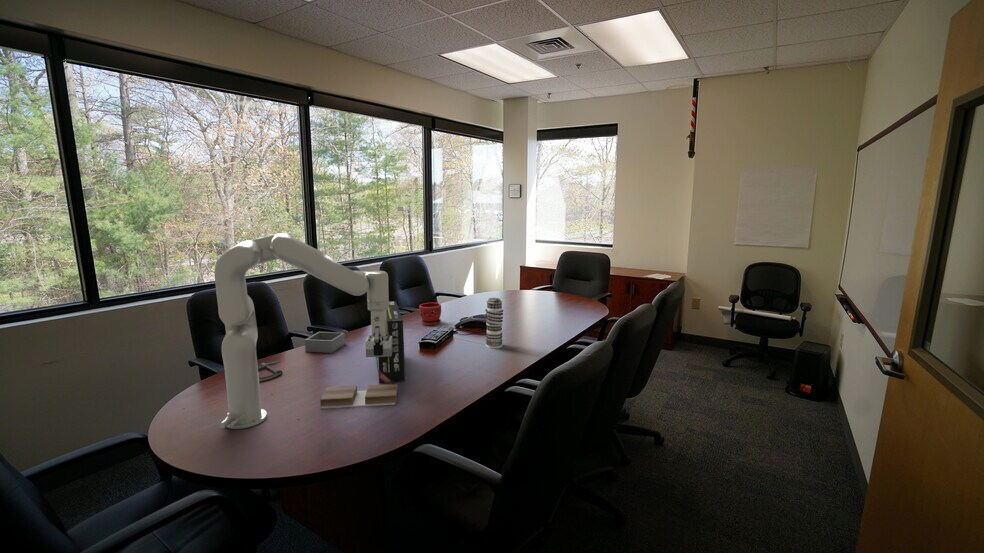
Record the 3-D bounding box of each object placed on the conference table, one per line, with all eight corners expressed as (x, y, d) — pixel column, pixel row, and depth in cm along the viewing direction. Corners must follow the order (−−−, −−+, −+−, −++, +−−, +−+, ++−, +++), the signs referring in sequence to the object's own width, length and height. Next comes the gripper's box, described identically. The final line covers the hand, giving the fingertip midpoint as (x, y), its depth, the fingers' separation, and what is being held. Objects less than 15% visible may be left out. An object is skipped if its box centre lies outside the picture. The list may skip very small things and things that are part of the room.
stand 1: (352, 404, 160) (352, 397, 160) (320, 406, 159) (320, 399, 158) (357, 391, 171) (356, 385, 171) (327, 393, 170) (327, 387, 169)
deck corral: (332, 352, 216) (331, 341, 215) (305, 351, 218) (304, 339, 217) (345, 343, 230) (344, 332, 229) (319, 342, 231) (319, 331, 230)
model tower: (497, 349, 223) (497, 301, 219) (481, 346, 227) (482, 299, 223) (506, 345, 230) (506, 298, 226) (491, 342, 235) (491, 296, 231)
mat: (397, 389, 174) (397, 388, 174) (395, 404, 162) (395, 403, 162) (328, 393, 171) (328, 392, 171) (320, 408, 158) (320, 407, 158)
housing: (391, 356, 162) (390, 339, 161) (365, 357, 161) (365, 339, 160) (392, 351, 168) (392, 334, 167) (368, 351, 167) (367, 334, 166)
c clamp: (237, 372, 192) (237, 366, 192) (279, 362, 204) (279, 357, 203) (251, 386, 178) (250, 379, 177) (295, 375, 189) (295, 369, 189)
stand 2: (396, 402, 163) (395, 395, 162) (365, 404, 161) (365, 397, 161) (398, 389, 173) (397, 383, 173) (369, 391, 172) (368, 385, 171)
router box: (374, 355, 213) (372, 301, 208) (397, 353, 216) (396, 300, 212) (378, 384, 179) (376, 320, 175) (406, 381, 182) (404, 318, 178)
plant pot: (433, 319, 279) (433, 301, 277) (445, 324, 269) (445, 304, 267) (415, 323, 271) (415, 304, 269) (427, 327, 261) (426, 308, 259)
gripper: (386, 310, 153) (387, 359, 156) (390, 299, 170) (391, 344, 173) (364, 310, 152) (365, 360, 155) (370, 299, 169) (371, 345, 172)
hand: (379, 351), depth 164 cm, fingers closed on housing, 6 cm apart
